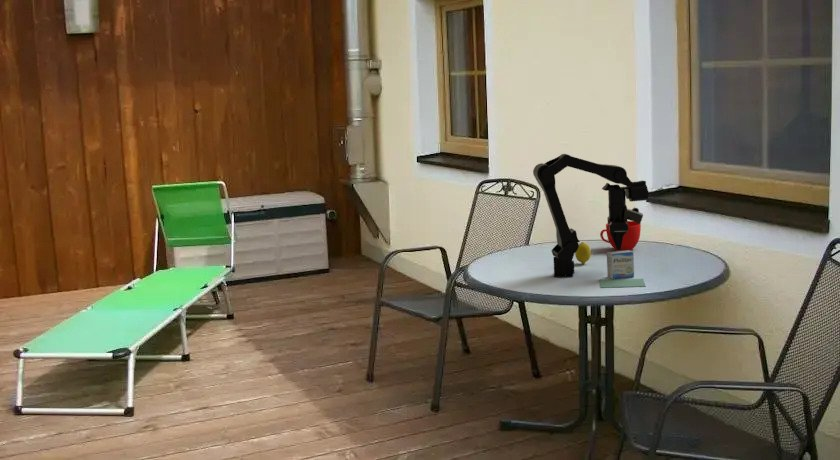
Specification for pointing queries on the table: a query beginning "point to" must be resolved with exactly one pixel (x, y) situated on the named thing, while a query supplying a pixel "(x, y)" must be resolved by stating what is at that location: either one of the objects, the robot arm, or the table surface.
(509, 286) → the table surface
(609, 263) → the medicine box
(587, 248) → the lemon
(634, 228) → the ceramic cup
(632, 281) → the mat
